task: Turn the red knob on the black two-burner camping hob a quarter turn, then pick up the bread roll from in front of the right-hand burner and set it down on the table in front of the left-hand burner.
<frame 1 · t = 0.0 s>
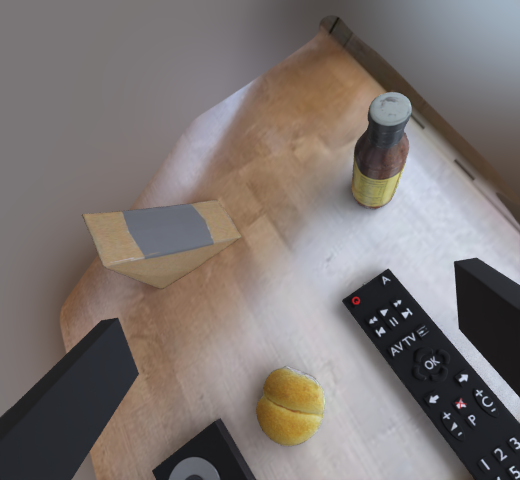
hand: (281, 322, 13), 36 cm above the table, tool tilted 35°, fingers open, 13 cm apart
sauce bottle: (371, 194, 52), on the table
sandwich container: (191, 243, 56), on the table
remote control: (445, 389, 42), on the table
bread roll: (291, 402, 45), on the table
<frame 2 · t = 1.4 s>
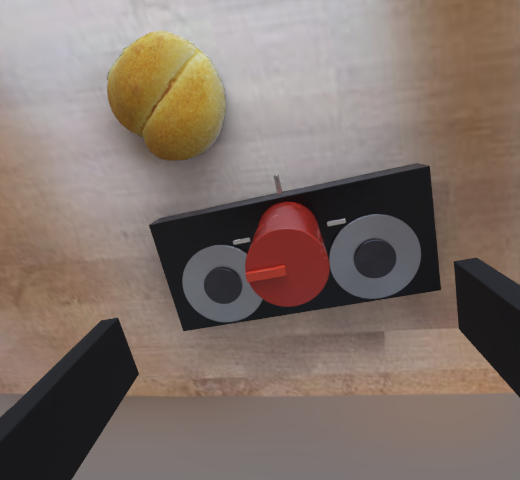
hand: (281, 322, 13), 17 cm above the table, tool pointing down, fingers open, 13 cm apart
hob: (293, 247, 30), on the table
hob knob: (287, 248, 23), point 7 cm above the table, hinge at 0.0°
burner rings: (296, 272, 28), on the hob, point 2 cm above the table
bread roll: (173, 101, 27), on the table
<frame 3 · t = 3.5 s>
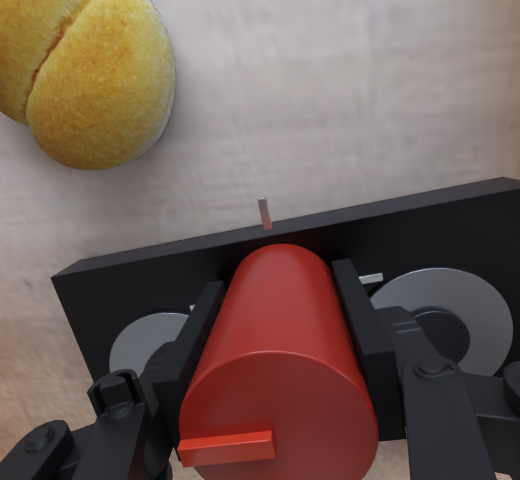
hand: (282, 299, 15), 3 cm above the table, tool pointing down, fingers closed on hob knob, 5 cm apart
hob: (291, 308, 19), on the table
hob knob: (280, 344, 12), point 7 cm above the table, hinge at 0.0°, touching gripper
burner rings: (296, 358, 16), on the hob, point 2 cm above the table
bread roll: (90, 69, 16), on the table
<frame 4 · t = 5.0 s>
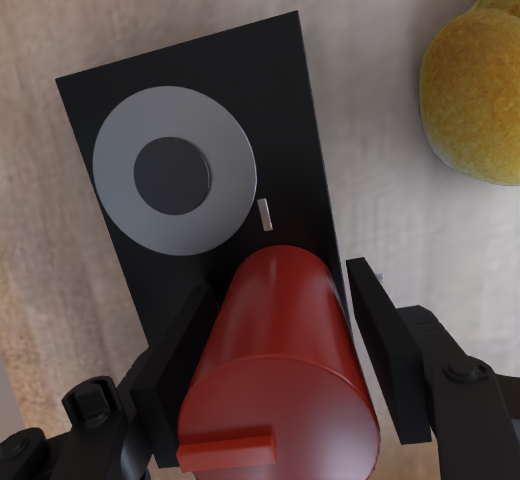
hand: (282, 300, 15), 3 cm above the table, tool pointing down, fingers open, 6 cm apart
hob: (243, 280, 18), on the table
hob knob: (280, 347, 12), point 7 cm above the table, hinge at 90.2°
burner rings: (211, 308, 16), on the hob, point 2 cm above the table
bread roll: (519, 76, 15), on the table
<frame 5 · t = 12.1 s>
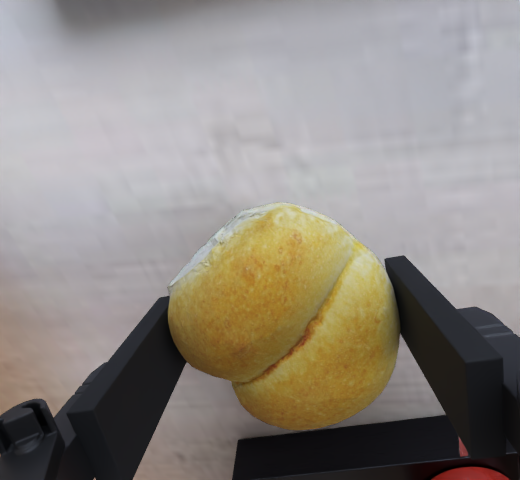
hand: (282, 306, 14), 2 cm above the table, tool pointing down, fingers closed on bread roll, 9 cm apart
bread roll: (282, 302, 15), point 2 cm above the table, touching gripper
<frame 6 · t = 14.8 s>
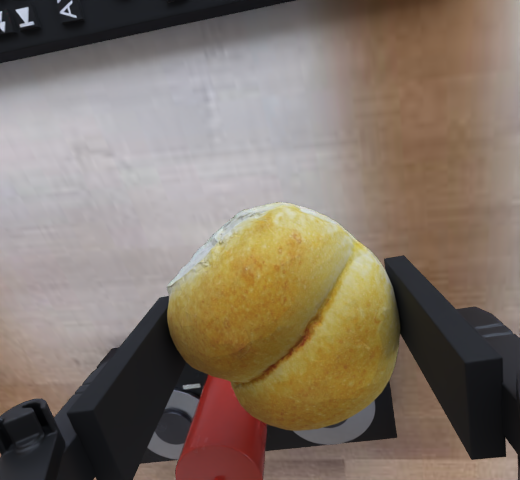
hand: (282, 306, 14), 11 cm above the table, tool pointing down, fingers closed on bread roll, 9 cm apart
hob: (249, 380, 29), on the table
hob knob: (230, 422, 22), point 7 cm above the table, hinge at 90.2°
burner rings: (248, 417, 27), on the hob, point 2 cm above the table
bread roll: (281, 302, 15), point 11 cm above the table, touching gripper
when the fingers open (0 cm above the table, at t = 17.7 s): bread roll stays where it is, on the table.
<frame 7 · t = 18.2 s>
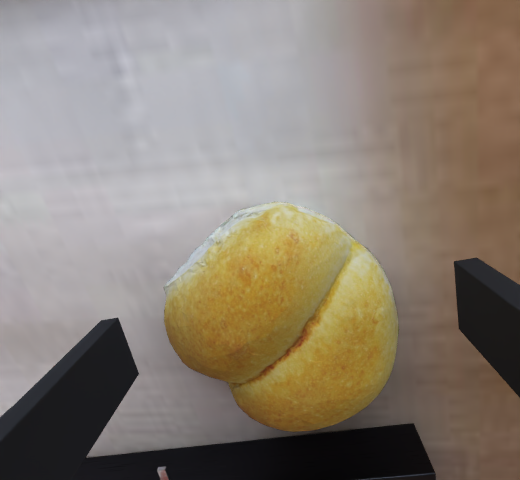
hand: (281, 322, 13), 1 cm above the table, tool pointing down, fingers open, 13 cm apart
bread roll: (279, 302, 15), on the table
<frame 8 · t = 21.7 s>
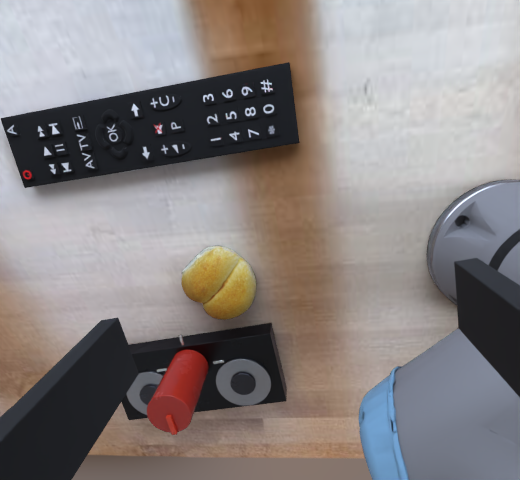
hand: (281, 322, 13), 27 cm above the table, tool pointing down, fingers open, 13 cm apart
remote control: (151, 130, 38), on the table
hob: (199, 367, 46), on the table
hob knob: (180, 388, 39), point 7 cm above the table, hinge at 90.2°
burner rings: (196, 389, 44), on the hob, point 2 cm above the table
bread roll: (221, 278, 42), on the table
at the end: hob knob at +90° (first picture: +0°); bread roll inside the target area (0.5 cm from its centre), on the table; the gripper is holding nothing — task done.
